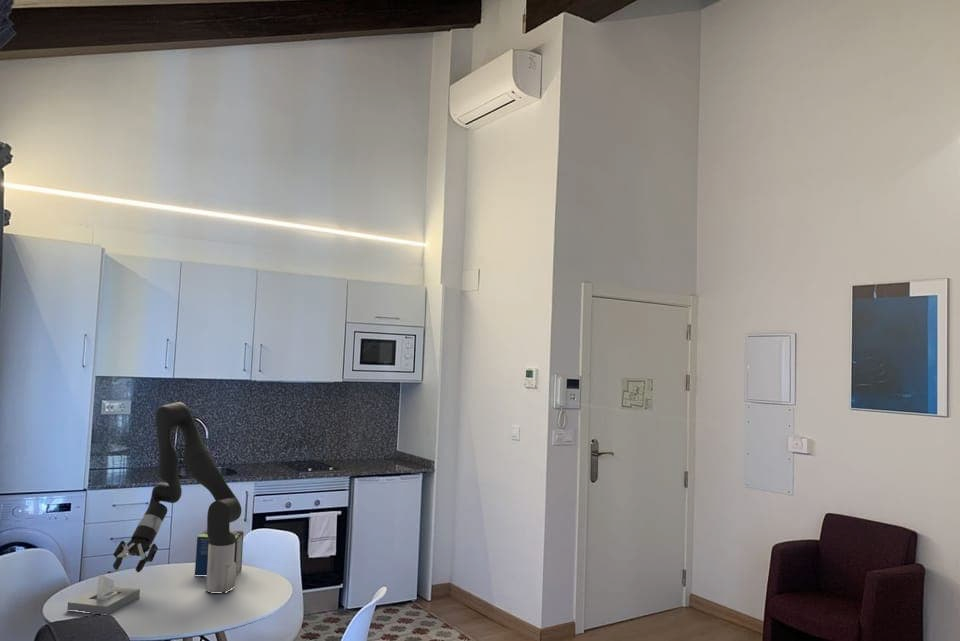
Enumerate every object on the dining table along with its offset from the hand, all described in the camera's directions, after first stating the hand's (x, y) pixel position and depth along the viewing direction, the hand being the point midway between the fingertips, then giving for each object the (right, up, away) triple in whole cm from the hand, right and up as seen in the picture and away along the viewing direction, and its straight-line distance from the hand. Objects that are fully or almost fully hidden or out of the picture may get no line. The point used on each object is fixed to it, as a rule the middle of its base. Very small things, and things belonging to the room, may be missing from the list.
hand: (126, 570), depth 258 cm
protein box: (+23, -11, +28) cm, 38 cm away
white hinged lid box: (-1, -8, -11) cm, 14 cm away
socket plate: (-2, -8, -11) cm, 14 cm away
